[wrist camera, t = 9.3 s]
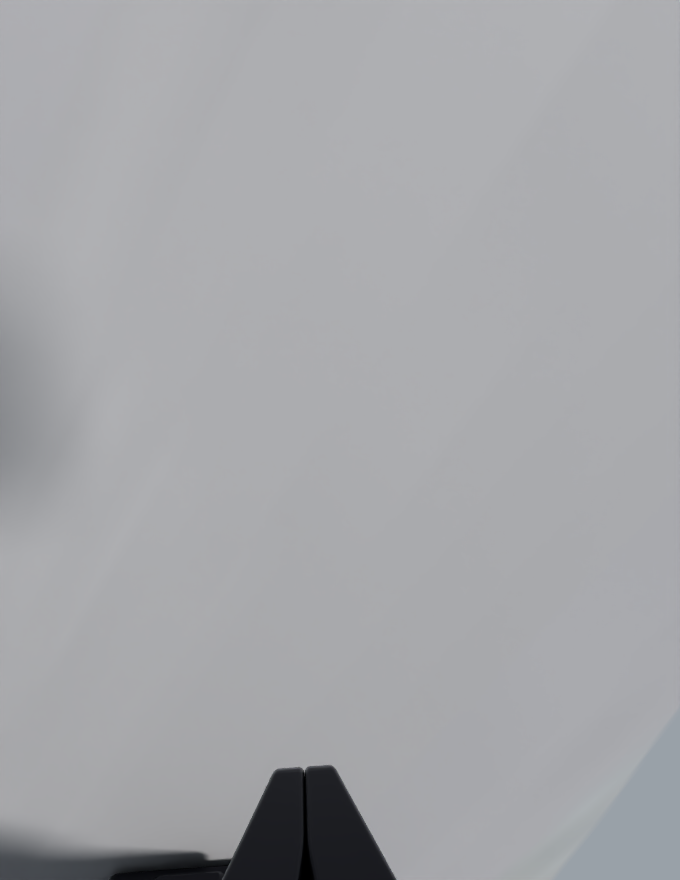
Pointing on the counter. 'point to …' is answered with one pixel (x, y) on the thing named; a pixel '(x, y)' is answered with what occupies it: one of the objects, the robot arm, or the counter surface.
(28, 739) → the counter surface
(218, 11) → the counter surface
